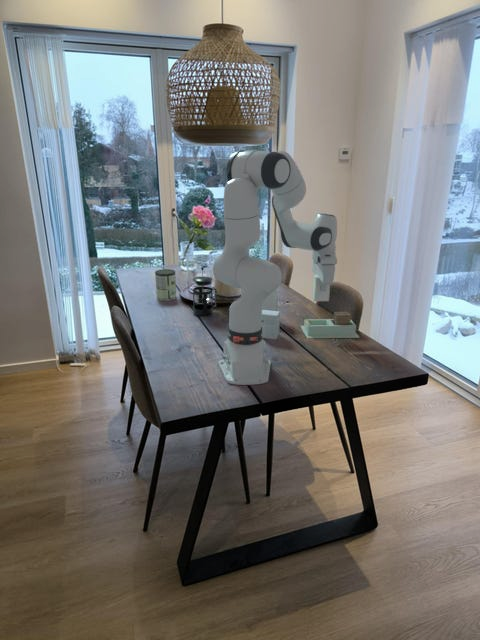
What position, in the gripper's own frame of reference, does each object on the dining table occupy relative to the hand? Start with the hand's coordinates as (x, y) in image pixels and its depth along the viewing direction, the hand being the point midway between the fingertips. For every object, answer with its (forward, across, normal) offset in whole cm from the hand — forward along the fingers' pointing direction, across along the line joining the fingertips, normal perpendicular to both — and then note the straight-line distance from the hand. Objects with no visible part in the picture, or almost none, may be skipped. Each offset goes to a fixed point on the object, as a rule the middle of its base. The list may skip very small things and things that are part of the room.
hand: (321, 288), depth 178 cm
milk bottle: (+20, -16, -19) cm, 32 cm away
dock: (+20, 0, +5) cm, 20 cm away
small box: (+20, +2, -21) cm, 29 cm away
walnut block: (+19, 0, +10) cm, 21 cm away
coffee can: (+20, -52, -68) cm, 88 cm away
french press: (+20, -27, -48) cm, 59 cm away
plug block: (+5, 0, 0) cm, 5 cm away
